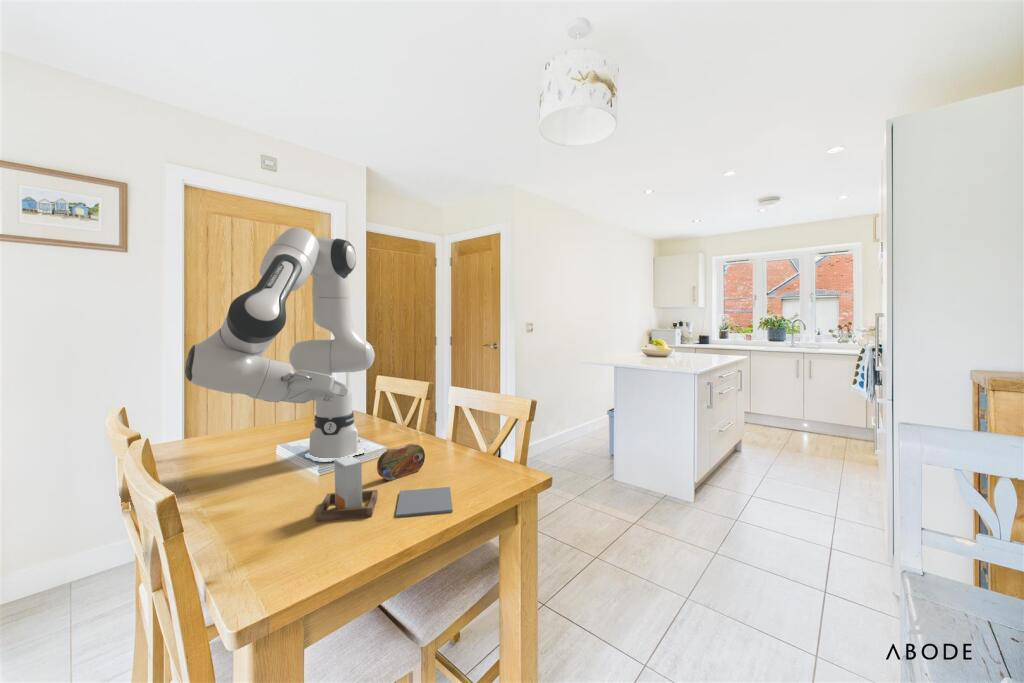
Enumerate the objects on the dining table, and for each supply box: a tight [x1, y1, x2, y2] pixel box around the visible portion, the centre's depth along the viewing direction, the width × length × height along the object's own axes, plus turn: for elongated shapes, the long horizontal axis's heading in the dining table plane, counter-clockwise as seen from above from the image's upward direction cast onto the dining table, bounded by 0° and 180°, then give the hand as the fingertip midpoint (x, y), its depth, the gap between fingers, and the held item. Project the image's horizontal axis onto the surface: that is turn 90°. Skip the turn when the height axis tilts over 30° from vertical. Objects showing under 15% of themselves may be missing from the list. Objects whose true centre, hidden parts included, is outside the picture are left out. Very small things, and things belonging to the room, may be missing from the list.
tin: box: [376, 443, 426, 482], centre depth 115 cm, size 15×3×8 cm, turn 139°
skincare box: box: [334, 456, 363, 509], centre depth 94 cm, size 6×4×12 cm
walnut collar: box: [315, 489, 379, 522], centre depth 94 cm, size 10×12×2 cm
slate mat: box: [395, 486, 454, 518], centre depth 98 cm, size 13×13×1 cm
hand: (339, 395), depth 95 cm, fingers open, 8 cm apart
